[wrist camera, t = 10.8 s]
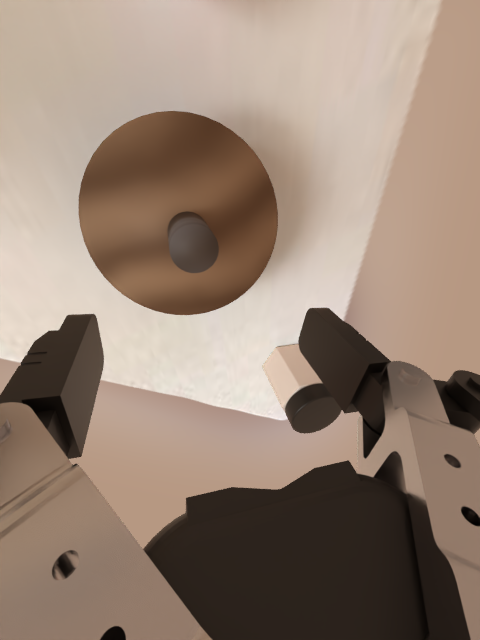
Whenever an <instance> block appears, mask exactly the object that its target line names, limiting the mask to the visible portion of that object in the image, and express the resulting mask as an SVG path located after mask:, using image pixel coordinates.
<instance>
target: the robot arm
mask: <svg viewBox="0 0 480 640" xmlns="http://www.w3.org/2000/svg"><path fill="white" fill-rule="evenodd" d="M299 349H300V352H301V353H302V355H303V356H304V358H305V359H306V360H307V362H308V363H309V365H310V366H311V367H312V369H313V370H314V371H315V373H316V374H317V376H318V377H319V378H320V380H321V381H322V383H323V384H324V385H325V387H326V388H327V390H328V391H329V392H330V394H331V395H332V396H333V398H334V399H335V401H336V402H337V403H338V405H339V406H340V408H341V409H342V410H343V411H344V413H351V412H357V411H359V413H360V414H361V415H360V417H359V419H358V462H357V471H355V470H354V468H353V466H352V465H351V463H350V462H349V461H344V462H340V463H335V464H331V465H327V466H323V467H318V468H314V469H312V470H311V471H309V472H308V473H306V474H305V475H303V476H301V477H300V478H298V479H297V480H295V481H293V482H292V483H290V484H289V485H287V486H285V487H284V488H282V489H278V490H271V489H252V488H235V487H231V488H227V489H223V490H218V491H214V492H210V493H206V494H201V495H197V496H193V497H188V498H186V513H185V514H183V515H181V516H179V517H178V518H176V519H175V520H173V521H172V522H171V523H169V524H168V525H167V526H165V527H164V528H163V529H162V530H161V531H160V532H159V533H158V534H157V535H156V536H155V537H153V538H152V540H151V541H150V542H149V543H148V544H147V545H146V547H145V548H144V549H142V548H141V546H140V545H139V544H138V542H137V541H136V540H135V538H134V537H133V536H132V534H131V533H130V532H129V530H128V529H127V528H126V526H125V525H124V524H123V522H122V521H121V520H120V518H119V517H118V516H117V514H116V513H115V512H114V511H113V509H112V508H111V506H110V505H109V504H108V502H107V501H106V500H105V498H104V497H103V496H102V494H101V493H100V492H99V490H98V489H97V488H96V486H95V485H94V484H93V482H92V481H91V480H90V478H89V477H88V476H87V474H86V473H85V472H84V471H83V469H82V468H81V467H80V466H79V465H78V464H75V465H73V464H72V463H71V462H70V461H69V459H71V458H76V457H81V456H82V452H83V448H84V444H85V439H86V435H87V431H88V427H89V423H90V419H91V415H92V411H93V407H94V403H95V398H96V394H97V390H98V386H99V383H100V379H101V375H102V371H103V364H104V355H103V348H102V343H101V338H100V333H99V328H98V323H97V318H96V316H95V315H94V314H80V315H68V316H67V317H66V318H65V320H64V322H63V324H62V326H61V328H60V329H59V330H58V331H48V332H47V333H46V334H44V335H43V336H41V337H40V338H39V339H37V340H36V341H35V342H34V343H33V345H32V346H31V348H30V350H29V351H28V353H27V355H26V356H25V357H24V359H23V361H22V362H21V366H19V367H18V368H17V370H16V371H15V373H14V375H13V376H12V378H11V379H10V381H9V383H8V384H7V386H6V387H5V389H4V390H3V392H2V393H1V395H0V640H480V446H479V444H478V442H477V440H476V438H475V436H474V434H475V433H476V432H477V430H478V429H479V428H480V375H478V374H475V373H472V372H469V371H463V370H460V371H456V372H454V373H453V375H452V376H451V377H450V379H449V380H448V381H447V382H445V381H439V380H433V379H432V378H431V377H430V376H429V375H428V374H427V373H426V372H424V371H423V370H421V369H420V368H418V367H416V366H414V365H412V364H409V363H405V362H401V361H393V362H391V361H390V360H389V359H388V358H387V357H385V356H384V355H383V354H382V353H381V352H380V351H378V349H377V348H375V347H374V346H373V345H372V344H371V343H370V342H369V341H366V339H365V338H364V337H363V336H362V335H361V334H359V333H358V332H357V331H356V330H355V329H354V328H353V327H352V326H351V325H349V324H347V323H345V322H344V321H342V320H341V319H340V318H339V317H338V316H337V315H336V314H335V313H333V312H332V311H331V310H330V309H329V308H310V309H309V310H308V311H307V313H306V316H305V319H304V323H303V326H302V330H301V333H300V337H299Z"/></svg>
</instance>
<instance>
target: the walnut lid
mask: <svg viewBox="0 0 480 640" xmlns="http://www.w3.org/2000/svg"><path fill="white" fill-rule="evenodd" d="M79 219H80V227H81V231H82V235H83V238H84V242H85V244H86V247H87V249H88V251H89V254H90V256H91V258H92V259H93V261H94V263H95V264H96V266H97V268H98V269H99V270H100V272H101V273H102V274H103V276H104V277H105V278H106V279H107V280H108V281H109V282H110V283H111V284H112V285H113V286H114V287H115V288H116V289H117V290H118V291H120V292H121V293H122V294H123V295H125V296H126V297H128V298H129V299H131V300H132V301H134V302H136V303H138V304H140V305H142V306H144V307H147V308H149V309H152V310H155V311H159V312H163V313H167V314H175V315H193V314H201V313H206V312H210V311H213V310H216V309H219V308H221V307H223V306H225V305H228V304H229V303H231V302H233V301H234V300H236V299H237V298H239V297H240V296H241V295H243V294H244V293H245V292H246V291H247V290H248V289H249V288H250V287H251V286H252V285H253V284H254V283H255V282H256V281H257V279H258V278H259V277H260V275H261V274H262V272H263V271H264V269H265V267H266V265H267V263H268V261H269V259H270V257H271V254H272V251H273V249H274V244H275V240H276V235H277V226H278V212H277V204H276V198H275V194H274V190H273V186H272V184H271V181H270V178H269V176H268V174H267V172H266V170H265V168H264V166H263V164H262V163H261V161H260V160H259V158H258V157H257V155H256V154H255V153H254V151H253V150H252V149H251V148H250V147H249V146H248V145H247V144H246V142H245V141H244V140H243V139H241V138H240V137H239V136H238V135H237V134H235V133H234V132H233V131H232V130H230V129H228V128H227V127H225V126H223V125H222V124H220V123H218V122H216V121H214V120H211V119H209V118H207V117H204V116H201V115H197V114H193V113H188V112H178V111H167V112H156V113H152V114H148V115H144V116H141V117H138V118H136V119H134V120H132V121H129V122H127V123H126V124H124V125H123V126H121V127H120V128H118V129H116V130H115V131H114V132H113V133H112V134H111V135H109V136H108V137H107V138H106V139H105V140H104V141H103V142H102V143H101V145H100V146H99V147H98V149H97V150H96V151H95V153H94V154H93V156H92V158H91V160H90V162H89V164H88V166H87V168H86V170H85V173H84V176H83V179H82V182H81V188H80V194H79Z"/></svg>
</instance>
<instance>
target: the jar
mask: <svg viewBox="0 0 480 640" xmlns="http://www.w3.org/2000/svg"><path fill="white" fill-rule="evenodd" d="M262 367H263V370H264V372H265V374H266V376H267V378H268V380H269V382H270V384H271V386H272V388H273V390H274V392H275V394H276V396H277V398H278V401H279V403H280V405H281V407H282V408H283V409H284V411H285V413H286V415H287V417H288V420H289V422H290V423H291V426H292V428H293V429H294V430H295V431H297V432H299V433H312V432H316V431H319V430H321V429H323V428H325V427H327V426H328V425H330V424H331V423H332V422H333V421H334V420H335V419H336V418H337V417H338V416H339V414H340V412H341V410H342V409H341V408H340V406H339V405H338V403H337V402H336V401H335V399H334V398H333V396H332V395H331V394H330V392H329V391H328V390H327V388H326V387H325V385H324V384H323V383H322V381H321V380H320V378H319V377H318V376H317V374H316V373H315V371H314V370H313V369H312V367H311V366H310V365H309V363H308V362H307V360H306V359H305V358H304V356H303V355H302V353H301V352H300V349H299V344H295V345H288V346H281V347H276V348H275V349H274V351H273V352H272V353H271V355H270V356H269V357H268V359H267V360H266V361H265V363H264V364H263V365H262Z"/></svg>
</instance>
